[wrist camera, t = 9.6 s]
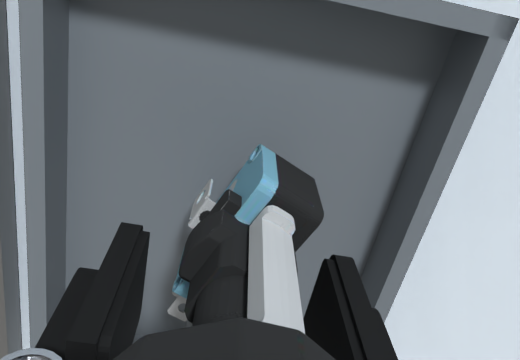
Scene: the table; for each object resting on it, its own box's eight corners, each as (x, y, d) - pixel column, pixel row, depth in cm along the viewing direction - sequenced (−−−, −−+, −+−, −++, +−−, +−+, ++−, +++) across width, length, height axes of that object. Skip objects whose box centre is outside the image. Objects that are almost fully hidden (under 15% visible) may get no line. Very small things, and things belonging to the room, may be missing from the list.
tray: (475, 9, 14) (518, 18, 12) (335, 358, 21) (346, 406, 19) (56, -89, 12) (15, -100, 10) (55, 324, 19) (31, 371, 17)
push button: (241, 317, 17) (225, 733, 8) (115, 252, 15) (-88, 664, 6) (355, 190, 14) (526, 574, 5) (217, 99, 13) (129, 409, 4)
